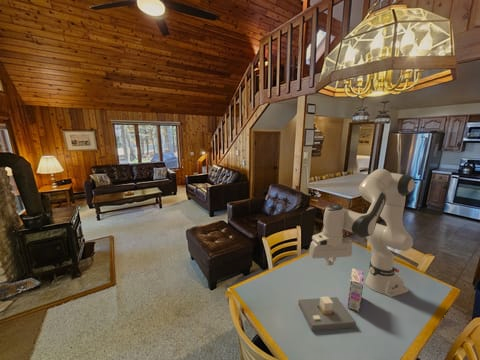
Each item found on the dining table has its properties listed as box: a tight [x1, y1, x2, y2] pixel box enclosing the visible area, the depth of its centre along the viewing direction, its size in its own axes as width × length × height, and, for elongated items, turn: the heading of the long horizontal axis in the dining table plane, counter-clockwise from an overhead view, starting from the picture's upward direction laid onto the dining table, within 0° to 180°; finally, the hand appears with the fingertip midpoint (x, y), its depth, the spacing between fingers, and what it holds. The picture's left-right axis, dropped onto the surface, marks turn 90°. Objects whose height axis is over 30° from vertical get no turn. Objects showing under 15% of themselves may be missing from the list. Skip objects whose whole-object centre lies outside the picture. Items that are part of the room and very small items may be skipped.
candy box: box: [347, 267, 364, 313], centre depth 112 cm, size 14×6×16 cm, turn 148°
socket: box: [298, 296, 357, 332], centre depth 104 cm, size 22×16×4 cm
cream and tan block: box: [319, 296, 333, 315], centre depth 103 cm, size 4×4×9 cm
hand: (329, 264), depth 99 cm, fingers closed
